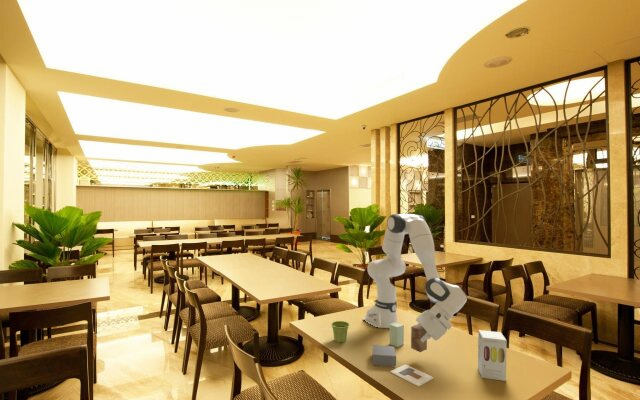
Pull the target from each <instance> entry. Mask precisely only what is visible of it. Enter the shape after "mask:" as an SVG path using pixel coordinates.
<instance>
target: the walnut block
mask: <svg viewBox="0 0 640 400" xmlns="http://www.w3.org/2000/svg"><path fill="white" fill-rule="evenodd" d="M410 327H411V329H410V331H411V332H410V334H411V335H410V349H412V350H414V351H416V352H418V353H421V352H424V351H427V350H428V339H427V340H425V341H424V342H422V341H421V340H420V338H421V336H422V337H423V336H424V335H426V333H427V332H426V330H425V329H424V328H423V327H422V326H421V325H419V323H417V324H415V325H412V326H410Z"/></svg>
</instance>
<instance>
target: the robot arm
mask: <svg viewBox="0 0 640 400" xmlns="http://www.w3.org/2000/svg"><path fill="white" fill-rule="evenodd" d="M405 235H408V237H409V240H410V244H411V247H412V250H413V252H414V254H415V256H416V257H417V258H418V260H419V262H420V263H421V266H422V269H423V270H424V271H423V272H424V274H425V278H426V281H427V282H425V286H424V289H425V292H426V296H427V298H428V299H429V301H430V302H431V303H432V304H434V305H433V306H432V307H431V308H430V309H427V310H424V311H423V312H421V313H420V314H419V315H418V316H417V317H416V319H415V321H416V322H417V324H419V325H421V326H422V327H423V328H424V329H425V330H426V332H427V333H426V335H424V336H423V337H422V336H421V338H420V340H421V341H422V342H424V341H425V340H427V341H428V340H431V338H432V339H433V340H434V341H437V340H440V339H441V338H442V337H443V336H444V335H445V334H446V332H447V331H449V330H450V329H452V324H451V321H450V320H452V318H453V317H454V314H456V313H458V312H459V311H460V310H461V309H462V308H463V307H464V305H465V304H466V303H467V300H468V298H467V294H466V292H465V291H464V290H463V288H461V287H460V286H459V285H458V284H457V285H455V284H451V283H448V282H446V281H444V280H442V279H440V275H439V273H438V269H437V265H436V259H435V258H436V256H435V249H436V248H435V242H434V238H433V237H434V236H433V235H432V231H431V228H430V227H429V225H428V223H427V222H426V218H425V217H424V216H423V215H420V214H413V213H394V214H391V215H390V216H388V218H387V222H386V230H385V232H384V237H383V240H382V241H383V242H382V244H381V249H382V251H383V252H384V253H385V254H386V257H385V258H382V259H381V258H380V259H375V260H372V261H370V262H369V263H368V265H367V268H366V269H367V273H368V275H369V276H370V278H371V279H373V280H374V282H375V284H376V293H377V295H376V296H377V297H376V299H375V300H373V303H375V304H374V305H372V307H370V308H368V309H367V311H366V316H363V317H362V319H363V320H365V321H366V322H365V321H364V322H365V323H367V322H368V323H367V324H369V325H370V324H371V326H372V325H373V326H372V327H374V326H375V327H374V328H376V327H378V329H382V328H383V329H390V324H392V323H395V322H396V323H399V320H398V315H397V314H398V313H397V309H398V302H397V288H396V286H395V285H394V284H393V283H391V281H390V278H394V277H398V276H402V275H403V274H405V272H406V270H407V269H406V268H407V266H406V263H405V261H404V259H402V250H403V249H402V247H403V245H404V244H403V243H404V240H405ZM363 320H362V321H363Z"/></svg>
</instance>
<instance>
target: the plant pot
mask: <svg viewBox="0 0 640 400" xmlns="http://www.w3.org/2000/svg"><path fill="white" fill-rule="evenodd" d="M330 325H331V328H332V332H333V339H334V342H336V341H337V342H336V343H338V342H339V343H341V342H343V343H345V342H346V341H347V336H348V329H349V326H350V323H349V322H347V321H343V320H336V321H333V322H331V324H330Z"/></svg>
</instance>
